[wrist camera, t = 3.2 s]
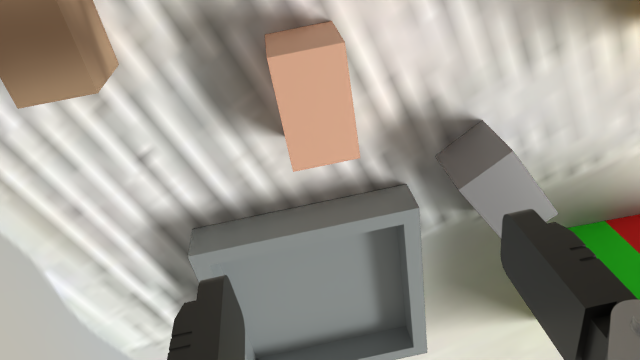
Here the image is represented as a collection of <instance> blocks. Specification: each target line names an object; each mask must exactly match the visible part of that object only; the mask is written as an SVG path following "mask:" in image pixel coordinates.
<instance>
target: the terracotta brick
mask: <svg viewBox="0 0 640 360" xmlns="http://www.w3.org/2000/svg"><path fill="white" fill-rule="evenodd" d="M265 44H266V55H267V61H268V66H269V70H270V74H271V78H272V83H273V87H274V91H275V96H276V100H277V104H278V109H279V113H280V117H281V121H282V126H283V130H284V134H285V139H286V143H287V147H288V152H289V156H290V160H291V164H292V169H293V172H295V171H300V170H304V169H309V168H314V167H319V166H324V165H329V164H333V163H338V162H343V161H348V160H353V159H357V158H360V152H359V145H358V137H357V130H356V122H355V115H354V107H353V100H352V92H351V85H350V77H349V70H348V62H347V55H346V47H345V42H344V40H343V38H342V37H341V35H340V34H339V32H338V30H337V29H336V27H335V25H334V24H333V22H332V21H329V22H324V23H319V24H314V25H309V26H304V27H299V28H294V29H290V30H285V31H280V32H275V33H270V34H265Z"/></svg>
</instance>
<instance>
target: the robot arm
mask: <svg viewBox="0 0 640 360" xmlns="http://www.w3.org/2000/svg"><path fill="white" fill-rule="evenodd" d="M501 261H502V265H503V268H504V270H505V272H506V274H507V276H508V278H509V279H510V280H511V282H512V283H513V285H514V286H515V288H516V289H517V291H518V292H519V294H520V295H521V297H522V298H523V300H524V301H525V303H526V304H527V306H528V307H529V309H530V310H531V311H532V313H533V314H534V316H535V317H536V319H537V320H538V322H539V323H540V325H541V326H542V328H543V329H544V331H545V332H546V334H547V335H548V337H549V338H550V340H551V341H552V343H553V344H554V345H555V347H556V348H557V350H558V351H559V353H560V354H561V356H562V357H563V359H564V360H640V300H639V299H638V298H636V296H635V295H634V294H633V293H632V292H631V291H630V290H629V289H628V288H627V287H626V286H625V285H624V284H623V283H622V282H621V281H620V280H619V279H618V278H617V277H616V276H615V275H614V274H613V273H612V272H611V271H610V270H609V268H608V267H607V266H606V265H605V264H604V263H603V262H602V261H601V260H600V259H599V258H598V259H597V258H596V255H595V254H594V253H593V252H592V251H591V250H590V249H589V248H587V247H586V245H585V244H584V243H583V241H582V240H581V239H580V238H579V237H578V236H577V235H576V234H575V233H574V232H573V231H571V230H569V229H567V228H565V227H563V226H561V225H560V224H558V223H556V222H553V223H549V224H547V223H546V222H545V221H544V220H543V219H542V218H541V217H540V216H539V215H538V213H537V212H536V211H535V210H533V209H527V210H522V211H517V212H513V213H508V214H505V215H504V216H503V219H502V236H501ZM167 360H245V324H244V318H243V314H242V311H241V308H240V305H239V303H238V300H237V298H236V295H235V293H234V290H233V288H232V285H231V282H230V280H229V278H228V276H227V275H223V276H219V277H214V278H210V279H205V280H201V281H200V282H199V286H198V293H197V300H196V301H191V302H187V303H184V305H183V306H182V308H181V310H180V311H179V313H178V314H177V316H176V318H175V319H174V325H173V330H172V339H171V341H170V347H169V353H168V358H167Z"/></svg>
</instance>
